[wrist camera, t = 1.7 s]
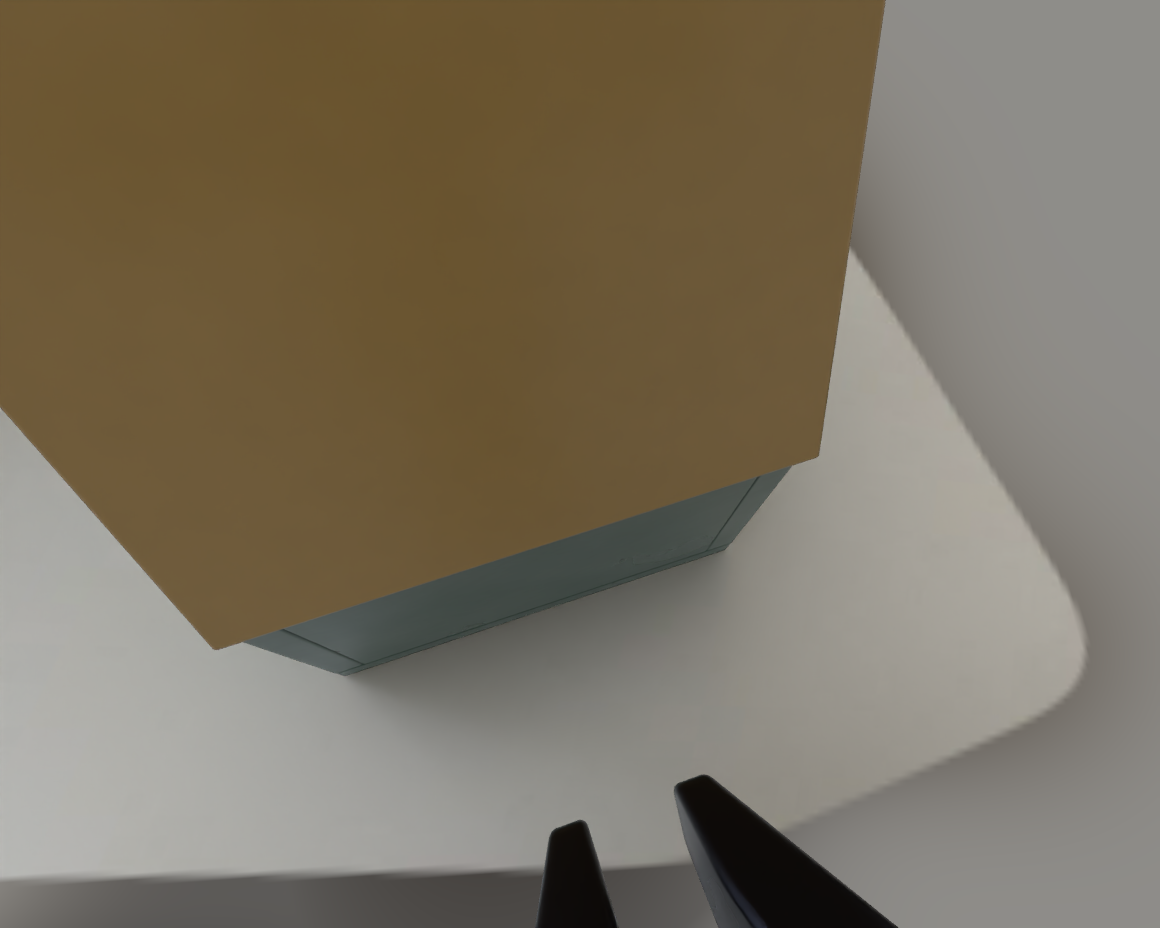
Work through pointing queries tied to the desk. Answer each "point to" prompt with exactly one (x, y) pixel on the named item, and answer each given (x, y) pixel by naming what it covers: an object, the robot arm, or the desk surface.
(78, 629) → the desk surface
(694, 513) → the dark green open box
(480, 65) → the lid
